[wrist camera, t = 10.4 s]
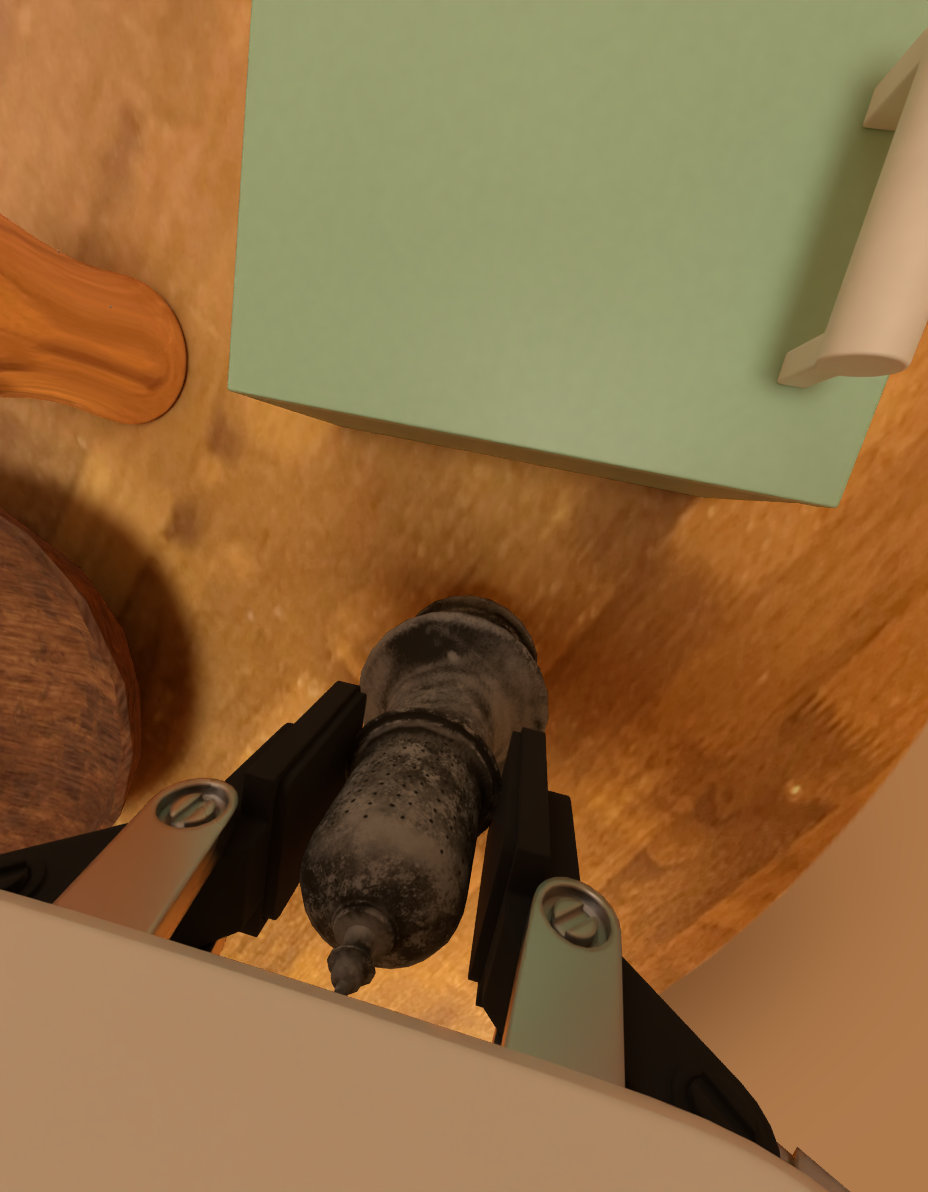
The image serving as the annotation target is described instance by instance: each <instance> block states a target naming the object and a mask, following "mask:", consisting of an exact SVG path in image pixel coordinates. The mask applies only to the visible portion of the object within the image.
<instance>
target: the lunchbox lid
mask: <svg viewBox="0 0 928 1192" xmlns="http://www.w3.org/2000/svg"><path fill="white" fill-rule="evenodd" d="M927 321H928V0H252V8H251V24H250V40H249V56H248V72H247V88H246V104H245V119H244V135H243V151H242V167H241V183H240V199H239V215H238V231H237V247H236V262H235V278H234V294H233V310H232V326H231V342H230V358H229V374H228V390H230V391H232V392H235V393H238V394H241V395H244V396H249V397H255V398H260V399H265V400H270V401H275V402H280V403H285V404H291V405H296V406H301V407H306V408H311V409H316V410H322V411H327V412H332V413H337V414H342V415H347V416H352V417H358V418H363V419H368V420H373V421H378V422H383V423H388V424H394V425H399V426H404V427H409V428H414V429H419V430H424V431H430V432H435V433H440V434H445V435H450V436H455V437H461V438H466V439H471V440H476V441H481V442H486V443H491V444H497V445H502V446H507V447H512V448H517V449H522V450H527V451H533V452H538V453H543V454H548V455H553V456H558V457H564V458H569V459H574V460H579V461H584V462H589V463H594V464H600V465H605V466H610V467H615V468H620V469H625V470H630V471H636V472H641V473H646V474H651V475H656V476H661V477H667V478H672V479H677V480H682V481H687V482H692V483H697V484H703V485H708V486H713V487H718V488H723V489H728V490H733V491H739V492H744V493H749V494H754V495H759V496H764V497H770V498H775V499H780V500H785V501H790V502H795V503H800V504H806V505H811V506H816V507H827V508H836V507H838V505H839V503H840V500H841V497H842V495H843V492H844V490H845V487H846V485H847V482H848V479H849V477H850V474H851V472H852V469H853V467H854V464H855V462H856V459H857V456H858V454H859V451H860V449H861V446H862V444H863V441H864V438H865V436H866V433H867V431H868V428H869V426H870V423H871V421H872V418H873V415H874V413H875V410H876V408H877V405H878V403H879V400H880V397H881V395H882V392H883V390H884V387H885V385H886V382H887V380H888V377H889V375H890V374H895V373H898V372H901V371H903V370H905V369H906V368H907V367H908V366H909V365H910V363H911V361H912V358H913V356H914V353H915V351H916V348H917V346H918V343H919V341H920V338H921V336H922V333H923V331H924V328H925V326H926V323H927Z"/></svg>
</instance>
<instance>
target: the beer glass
mask: <svg viewBox="0 0 928 1192" xmlns="http://www.w3.org/2000/svg"><path fill="white" fill-rule="evenodd" d="M185 372H186V349H185V343H184V338H183V334H182V331H181V328H180V326H179V323H178V321H177V319H176V317H175V315H174V313H173V312H172V310H171V309H170V307H169V306H168V304H167V303H166V302H165V301H164V300H163V298H162V297H161V296H160V295H159V294H158V293H157V292H155V291H154V290H153V289H152V288H151V287H149V286H148V285H147V284H145V283H143V282H142V281H140V280H138V279H135V278H133V277H130V276H127V275H124V274H120V273H116V272H112V271H108V270H105V269H101V268H97V267H94V266H91V265H88V264H86V263H83V262H80V261H78V260H76V259H74V258H71V257H69V256H67V255H65V254H63V253H61V252H59V251H58V250H56V249H54V248H52V247H51V246H49V245H47V244H45V243H43V242H42V241H40V240H39V239H37V238H36V237H34V236H33V235H31V234H30V233H28V232H27V231H25V230H24V229H22V228H21V227H19V226H18V225H16V224H15V223H13V222H12V221H10V220H9V219H8V218H6V217H5V216H3V215H2V214H0V397H2V398H31V399H39V400H47V401H53V402H57V403H62V404H65V405H68V406H72V407H75V408H77V409H80V410H83V411H85V412H88V413H91V414H93V415H96V416H99V417H101V418H104V419H107V420H110V421H114V422H118V423H123V424H141V423H146V422H149V421H152V420H154V419H156V418H158V417H159V416H161V415H162V414H164V413H165V412H166V411H167V410H168V409H169V408H170V407H171V406H172V404H173V403H174V402H175V400H176V398H177V397H178V395H179V393H180V390H181V388H182V385H183V382H184V378H185Z"/></svg>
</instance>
